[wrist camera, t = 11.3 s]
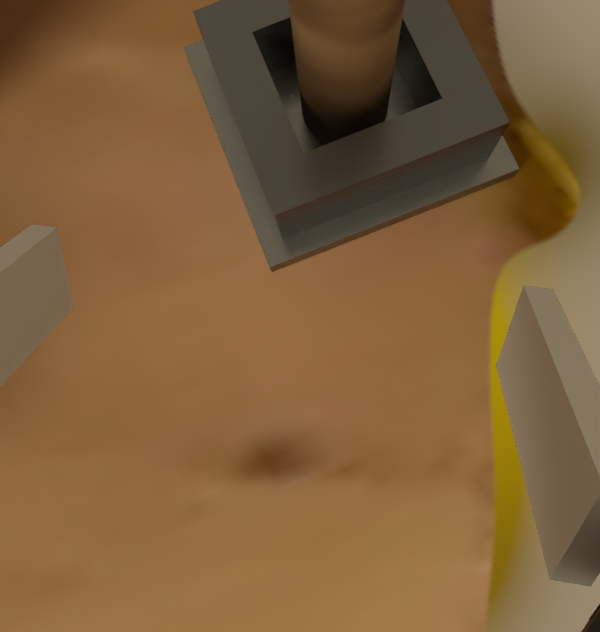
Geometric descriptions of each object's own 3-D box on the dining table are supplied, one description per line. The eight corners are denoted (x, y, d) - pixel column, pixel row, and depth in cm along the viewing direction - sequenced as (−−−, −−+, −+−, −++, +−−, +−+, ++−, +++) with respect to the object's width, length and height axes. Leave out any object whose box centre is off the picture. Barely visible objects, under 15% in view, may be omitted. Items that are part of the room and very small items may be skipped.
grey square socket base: (188, 58, 27) (164, 1, 23) (409, -30, 27) (421, -101, 23) (271, 271, 25) (260, 247, 21) (513, 176, 25) (545, 134, 21)
